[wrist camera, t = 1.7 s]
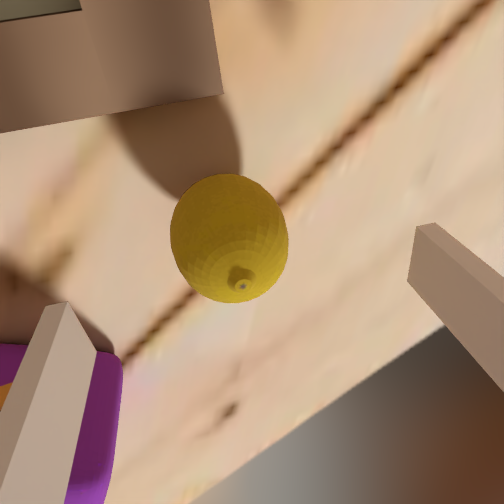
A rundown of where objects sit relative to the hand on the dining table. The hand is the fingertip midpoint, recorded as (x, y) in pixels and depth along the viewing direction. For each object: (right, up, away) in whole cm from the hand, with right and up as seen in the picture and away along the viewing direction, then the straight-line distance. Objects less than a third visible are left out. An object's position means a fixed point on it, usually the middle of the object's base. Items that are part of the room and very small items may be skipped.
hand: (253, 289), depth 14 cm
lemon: (-2, +4, +7) cm, 9 cm away
